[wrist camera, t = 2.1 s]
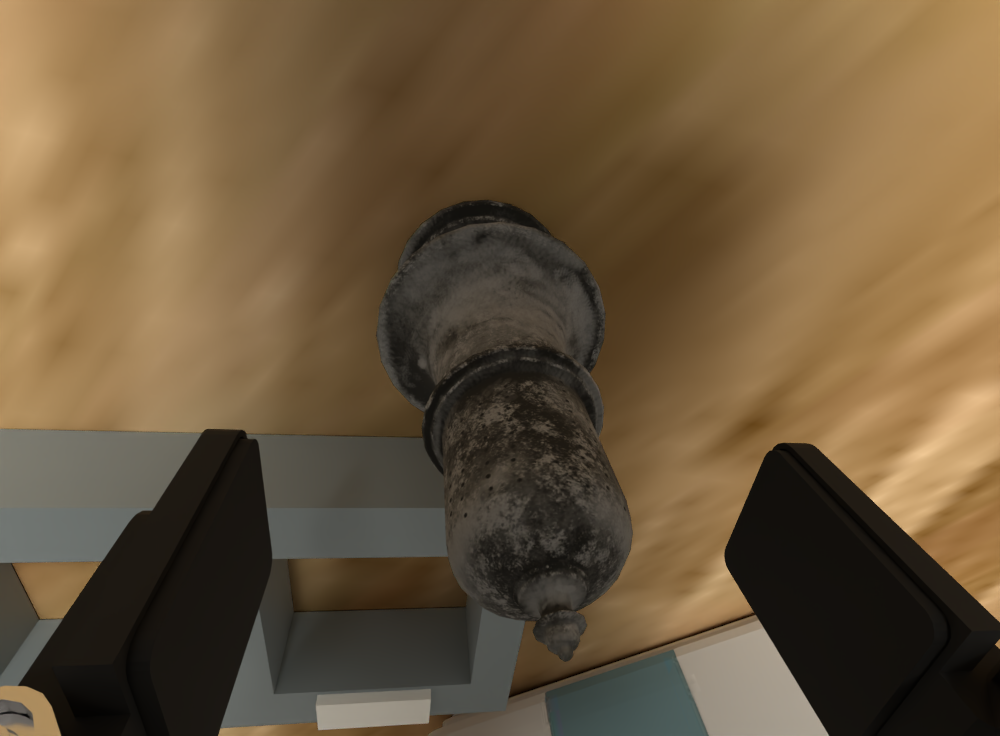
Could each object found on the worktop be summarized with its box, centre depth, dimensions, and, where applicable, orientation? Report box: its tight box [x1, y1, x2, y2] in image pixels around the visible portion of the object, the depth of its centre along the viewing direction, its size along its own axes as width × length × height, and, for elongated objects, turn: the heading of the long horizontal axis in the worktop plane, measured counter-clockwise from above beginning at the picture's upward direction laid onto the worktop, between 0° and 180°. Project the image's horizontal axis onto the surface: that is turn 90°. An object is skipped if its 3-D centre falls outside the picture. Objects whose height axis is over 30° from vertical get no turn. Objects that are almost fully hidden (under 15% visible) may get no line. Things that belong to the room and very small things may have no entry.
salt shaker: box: [376, 200, 633, 662], centre depth 11 cm, size 6×6×12 cm
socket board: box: [0, 429, 525, 730], centre depth 20 cm, size 12×21×4 cm, turn 83°
